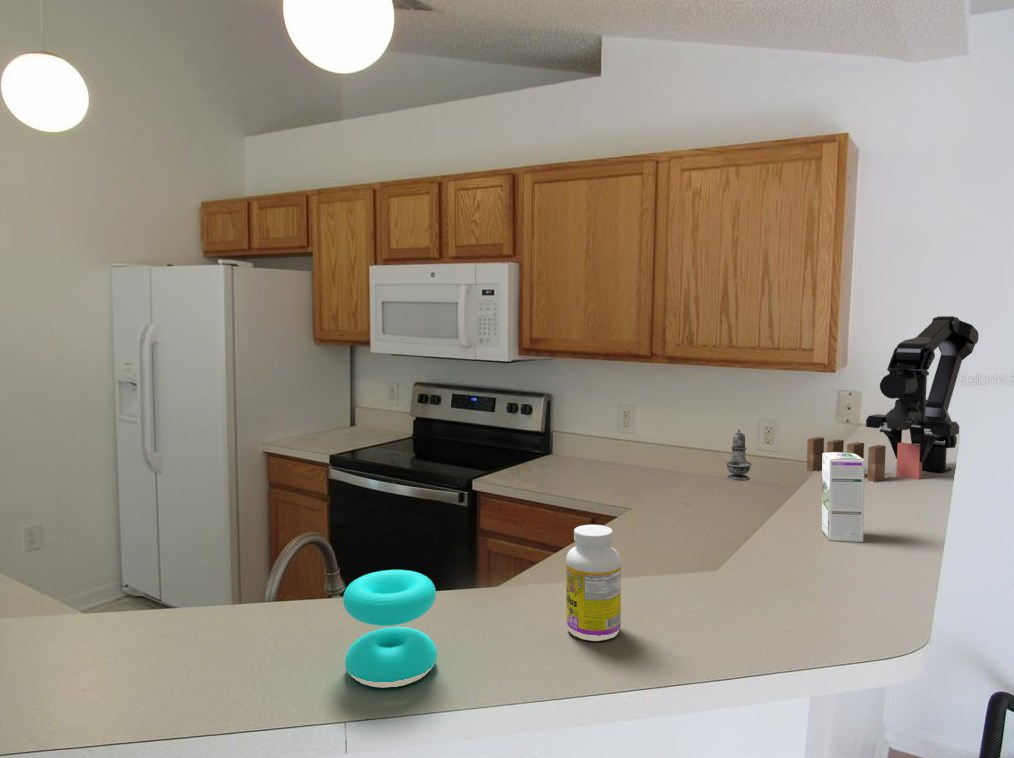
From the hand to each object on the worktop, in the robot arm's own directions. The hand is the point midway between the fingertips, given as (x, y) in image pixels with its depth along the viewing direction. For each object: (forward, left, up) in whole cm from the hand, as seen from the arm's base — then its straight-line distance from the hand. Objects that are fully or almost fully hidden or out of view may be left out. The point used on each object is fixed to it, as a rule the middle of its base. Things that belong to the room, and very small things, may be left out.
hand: (909, 460), depth 166 cm
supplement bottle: (+117, +13, -4) cm, 118 cm away
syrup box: (+57, +13, -4) cm, 59 cm away
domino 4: (+9, -3, -4) cm, 10 cm away
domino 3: (+9, -8, -4) cm, 13 cm away
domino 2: (+9, -13, -4) cm, 17 cm away
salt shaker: (+32, -25, -4) cm, 41 cm away
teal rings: (+141, +6, -4) cm, 141 cm away
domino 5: (0, 0, -4) cm, 4 cm away
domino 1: (+9, -18, -4) cm, 21 cm away
